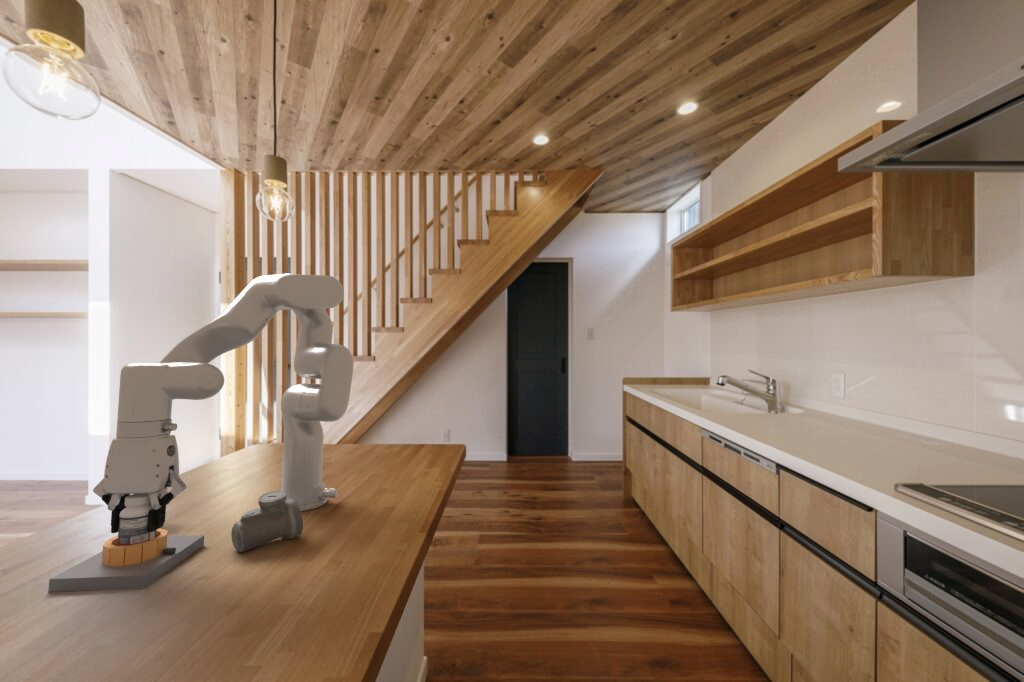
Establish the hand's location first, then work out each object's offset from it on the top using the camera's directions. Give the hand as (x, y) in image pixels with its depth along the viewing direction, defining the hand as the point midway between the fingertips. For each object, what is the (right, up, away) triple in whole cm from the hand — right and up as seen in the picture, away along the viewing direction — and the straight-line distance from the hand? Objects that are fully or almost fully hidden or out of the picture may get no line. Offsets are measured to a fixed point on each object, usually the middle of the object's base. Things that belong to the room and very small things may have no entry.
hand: (137, 528), depth 76 cm
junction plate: (0, -7, 0) cm, 7 cm away
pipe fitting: (+18, -8, +10) cm, 22 cm away
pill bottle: (0, -3, 0) cm, 3 cm away
